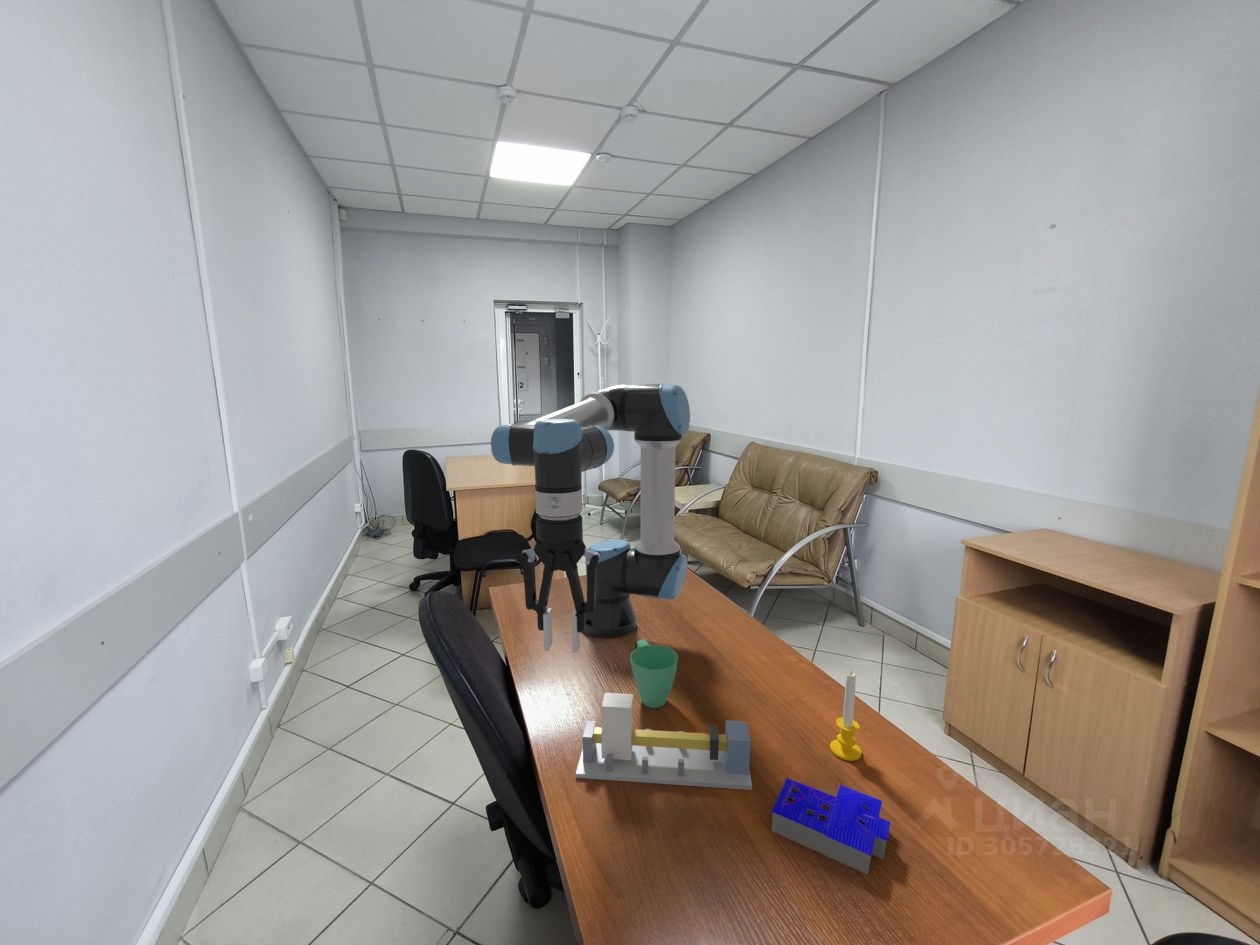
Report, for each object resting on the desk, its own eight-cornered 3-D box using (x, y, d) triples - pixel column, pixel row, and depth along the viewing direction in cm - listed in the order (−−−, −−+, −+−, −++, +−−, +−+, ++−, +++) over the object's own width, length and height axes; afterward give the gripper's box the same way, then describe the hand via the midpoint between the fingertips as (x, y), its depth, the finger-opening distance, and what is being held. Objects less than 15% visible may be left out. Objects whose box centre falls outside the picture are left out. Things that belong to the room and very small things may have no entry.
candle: (826, 753, 94) (832, 673, 92) (834, 737, 99) (839, 660, 96) (858, 765, 91) (864, 682, 89) (864, 748, 96) (870, 668, 93)
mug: (685, 710, 107) (686, 664, 105) (639, 719, 104) (639, 672, 102) (659, 672, 120) (659, 631, 119) (617, 680, 117) (617, 638, 116)
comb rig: (575, 777, 88) (575, 740, 87) (586, 738, 98) (585, 703, 97) (752, 790, 86) (753, 751, 85) (744, 748, 96) (746, 713, 94)
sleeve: (601, 758, 90) (601, 708, 89) (605, 738, 95) (605, 690, 94) (630, 760, 90) (630, 709, 88) (633, 740, 95) (633, 692, 93)
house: (881, 884, 70) (884, 850, 69) (769, 834, 78) (771, 802, 77) (891, 825, 79) (894, 794, 78) (790, 785, 87) (792, 757, 86)
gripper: (500, 519, 83) (506, 656, 87) (608, 522, 82) (609, 661, 86) (514, 508, 91) (519, 635, 95) (614, 510, 89) (614, 639, 93)
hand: (562, 647), depth 90 cm, fingers open, 4 cm apart
